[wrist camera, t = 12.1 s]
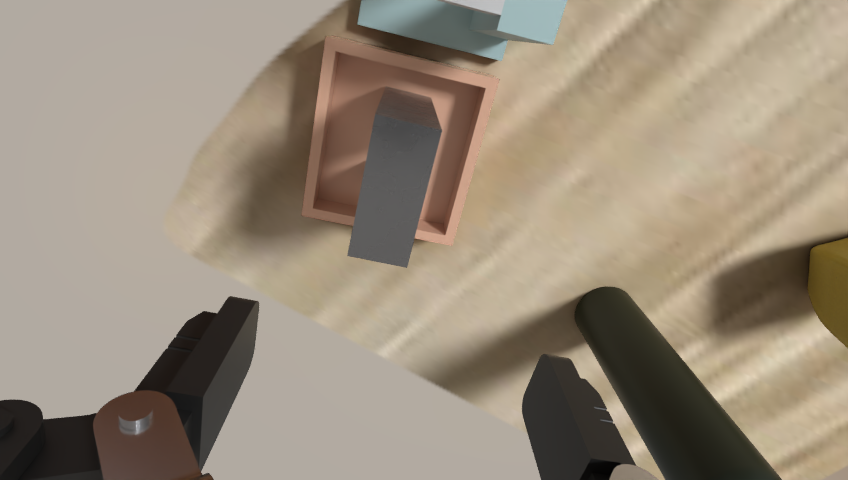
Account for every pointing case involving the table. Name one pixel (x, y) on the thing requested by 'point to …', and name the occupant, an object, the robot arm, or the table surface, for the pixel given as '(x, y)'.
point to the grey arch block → (395, 177)
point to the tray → (353, 121)
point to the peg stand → (467, 22)
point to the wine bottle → (665, 395)
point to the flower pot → (830, 286)
